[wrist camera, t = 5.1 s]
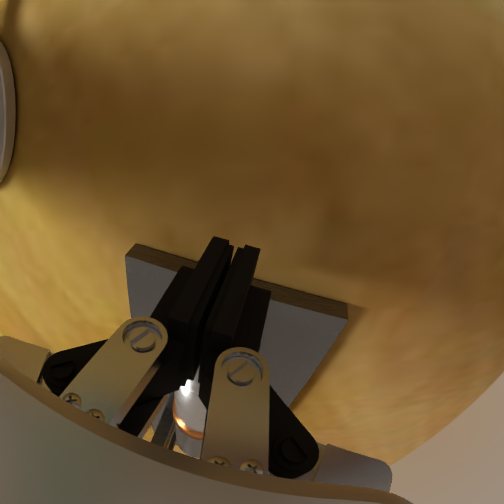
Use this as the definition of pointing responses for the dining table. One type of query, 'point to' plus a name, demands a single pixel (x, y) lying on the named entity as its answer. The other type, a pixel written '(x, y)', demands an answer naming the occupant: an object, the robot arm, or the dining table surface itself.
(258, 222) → the dining table surface
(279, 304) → the plate
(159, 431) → the collar
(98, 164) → the dining table surface
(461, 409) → the dining table surface
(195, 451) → the tube
